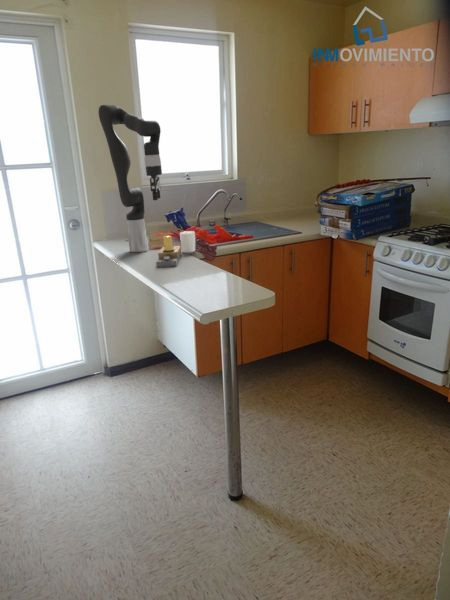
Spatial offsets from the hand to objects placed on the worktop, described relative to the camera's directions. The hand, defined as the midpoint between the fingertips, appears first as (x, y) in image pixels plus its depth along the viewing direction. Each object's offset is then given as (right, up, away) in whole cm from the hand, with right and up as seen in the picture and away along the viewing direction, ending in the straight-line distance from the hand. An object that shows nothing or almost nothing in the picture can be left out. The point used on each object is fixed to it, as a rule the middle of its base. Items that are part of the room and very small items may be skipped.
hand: (156, 199), depth 213 cm
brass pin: (+7, -31, -5) cm, 32 cm away
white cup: (+15, -25, +13) cm, 32 cm away
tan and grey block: (+7, -31, -5) cm, 32 cm away
